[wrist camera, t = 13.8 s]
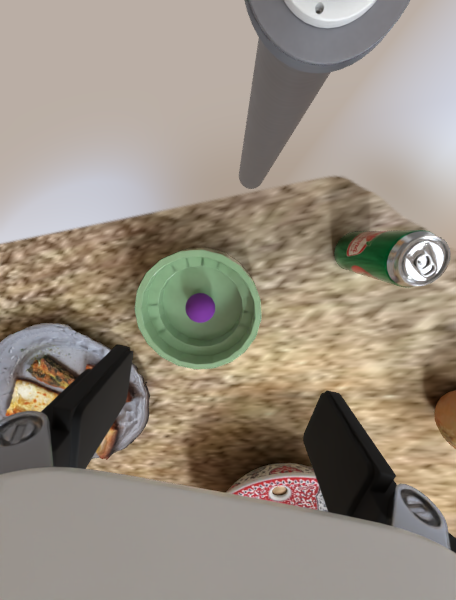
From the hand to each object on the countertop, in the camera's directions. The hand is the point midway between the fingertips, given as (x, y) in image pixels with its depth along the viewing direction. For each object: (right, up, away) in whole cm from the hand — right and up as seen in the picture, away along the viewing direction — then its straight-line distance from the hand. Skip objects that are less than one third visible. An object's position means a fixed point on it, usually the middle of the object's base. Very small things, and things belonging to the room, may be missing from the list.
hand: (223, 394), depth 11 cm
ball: (-4, +4, +20) cm, 20 cm away
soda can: (+17, +11, +20) cm, 28 cm away
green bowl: (-3, +4, +22) cm, 23 cm away
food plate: (-25, -10, +27) cm, 38 cm away
